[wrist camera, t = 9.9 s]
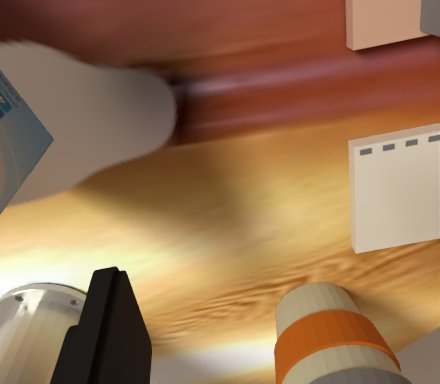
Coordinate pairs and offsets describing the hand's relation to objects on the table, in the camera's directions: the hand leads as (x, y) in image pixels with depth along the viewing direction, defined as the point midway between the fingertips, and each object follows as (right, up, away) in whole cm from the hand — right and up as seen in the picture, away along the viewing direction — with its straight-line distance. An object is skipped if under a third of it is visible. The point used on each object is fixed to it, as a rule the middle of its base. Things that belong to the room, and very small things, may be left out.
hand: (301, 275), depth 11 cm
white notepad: (+17, +3, +28) cm, 33 cm away
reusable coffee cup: (+9, -12, +36) cm, 39 cm away
